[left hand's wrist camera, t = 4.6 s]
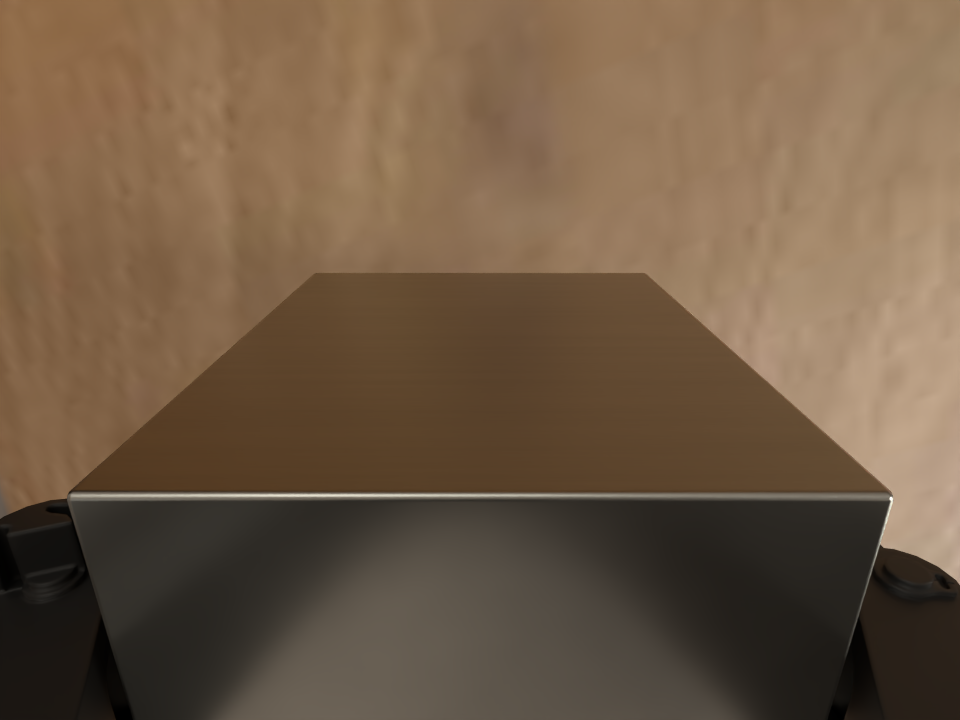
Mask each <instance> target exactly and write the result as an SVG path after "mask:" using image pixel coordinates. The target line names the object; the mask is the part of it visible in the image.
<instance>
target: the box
mask: <svg viewBox="0 0 960 720" xmlns="http://www.w3.org/2000/svg"><path fill="white" fill-rule="evenodd" d="M67 501H68V505H69V508H70V511H71V515H72V518H73V521H74V525H75V528H76V531H77V535H78V538H79V541H80V545H81V548H82V551H83V555H84V558H85V561H86V565H87V568H88V571H89V575H90V578H91V581H92V585H93V588H94V591H95V595H96V598H97V601H98V605H99V608H100V611H101V615H102V618H103V622H104V625H105V628H106V632H107V635H108V638H109V642H110V645H111V648H112V652H113V655H114V658H115V662H116V665H117V668H118V672H119V675H120V678H121V682H122V685H123V688H124V692H125V695H126V698H127V702H128V705H129V708H130V712H131V715H132V718H133V720H827V719H828V716H829V713H830V709H831V706H832V703H833V699H834V696H835V693H836V689H837V686H838V683H839V679H840V676H841V673H842V669H843V666H844V663H845V659H846V656H847V653H848V649H849V646H850V643H851V639H852V636H853V633H854V629H855V626H856V623H857V619H858V616H859V613H860V609H861V606H862V603H863V599H864V596H865V593H866V589H867V586H868V583H869V579H870V576H871V573H872V569H873V566H874V563H875V559H876V556H877V553H878V549H879V546H880V543H881V539H882V536H883V533H884V529H885V526H886V523H887V519H888V516H889V513H890V509H891V506H892V503H893V495H892V493H891V491H890V490H889V489H887V488H886V487H885V486H884V485H883V484H882V483H881V482H880V481H878V480H877V479H876V478H875V477H874V476H873V475H872V474H871V473H869V472H868V471H867V470H866V469H865V468H864V467H863V466H862V465H860V464H859V463H858V462H857V461H856V460H855V459H854V458H853V457H851V456H850V455H849V454H848V453H847V452H846V451H845V450H844V449H842V448H841V447H840V446H839V445H838V444H837V443H836V442H835V441H833V440H832V439H831V438H830V437H829V436H828V435H827V434H826V433H824V432H823V431H822V430H821V429H820V428H819V427H818V426H817V425H815V424H814V423H813V422H812V421H811V420H810V419H809V418H808V417H806V416H805V415H804V414H803V413H802V412H801V411H800V410H799V409H797V408H796V407H795V406H794V405H793V404H792V403H791V402H790V401H788V400H787V399H786V398H785V397H784V396H783V395H782V394H781V393H779V392H778V391H777V390H776V389H775V388H774V387H773V386H772V385H770V384H769V383H768V382H767V381H766V380H765V379H764V378H763V377H761V376H760V375H759V374H758V373H757V372H756V371H755V370H754V369H752V368H751V367H750V366H749V365H748V364H747V363H746V362H745V361H743V360H742V359H741V358H740V357H739V356H738V355H737V354H736V353H734V352H733V351H732V350H731V349H730V348H729V347H728V346H726V345H725V344H724V343H723V342H722V341H721V340H720V339H719V338H717V337H716V336H715V335H714V334H713V333H712V332H711V331H710V330H708V329H707V328H706V327H705V326H704V325H703V324H702V323H701V322H699V321H698V320H697V319H696V318H695V317H694V316H693V315H692V314H690V313H689V312H688V311H687V310H686V309H685V308H684V307H683V306H681V305H680V304H679V303H678V302H677V301H676V300H675V299H674V298H672V297H671V296H670V295H669V294H668V293H667V292H666V291H665V290H663V289H662V288H661V287H660V286H659V285H658V284H657V283H656V282H654V281H653V280H652V279H651V278H650V277H649V276H648V275H647V274H645V273H316V274H314V275H312V276H311V277H310V278H309V279H308V280H307V281H306V282H305V283H303V284H302V285H301V286H300V287H299V288H298V289H297V290H296V291H294V292H293V293H292V294H291V295H290V296H289V297H288V298H287V299H285V300H284V301H283V302H282V303H281V304H280V305H279V306H278V307H276V308H275V309H274V310H273V311H272V312H271V313H270V314H269V315H267V316H266V317H265V318H264V319H263V320H262V321H261V322H260V323H258V324H257V325H256V326H255V327H254V328H253V329H252V330H251V331H249V332H248V333H247V334H246V335H245V336H244V337H243V338H242V339H240V340H239V341H238V342H237V343H236V344H235V345H234V346H233V347H231V348H230V349H229V350H228V351H227V352H226V353H225V354H224V355H222V356H221V357H220V358H219V359H218V360H217V361H216V362H215V363H213V364H212V365H211V366H210V367H209V368H208V369H207V370H206V371H204V372H203V373H202V374H201V375H200V376H199V377H198V378H197V379H195V380H194V381H193V382H192V383H191V384H190V385H189V386H188V387H187V388H185V389H184V390H183V391H182V392H181V393H180V394H179V395H178V396H176V397H175V398H174V399H173V400H172V401H171V402H170V403H169V404H167V405H166V406H165V407H164V408H163V409H162V410H161V411H160V412H158V413H157V414H156V415H155V416H154V417H153V418H152V419H151V420H149V421H148V422H147V423H146V424H145V425H144V426H143V427H142V428H140V429H139V430H138V431H137V432H136V433H135V434H134V435H133V436H131V437H130V438H129V439H128V440H127V441H126V442H125V443H124V444H122V445H121V446H120V447H119V448H118V449H117V450H116V451H115V452H113V453H112V454H111V455H110V456H109V457H108V458H107V459H106V460H104V461H103V462H102V463H101V464H100V465H99V466H98V467H97V468H95V469H94V470H93V471H92V472H91V473H90V474H89V475H88V476H86V477H85V478H84V479H83V480H82V481H81V482H80V483H79V484H77V485H76V486H75V487H74V488H73V489H72V490H71V491H70V492H69V494H68V497H67Z"/></svg>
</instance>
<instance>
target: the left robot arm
mask: <svg viewBox="0 0 960 720" xmlns="http://www.w3.org/2000/svg"><path fill="white" fill-rule="evenodd" d="M0 720H133V718H132V715H131V712H130V708H129V705H128V702H127V698H126V695H125V692H124V688H123V685H122V682H121V678H120V675H119V672H118V668H117V665H116V662H115V658H114V655H113V652H112V648H111V645H110V642H109V638H108V635H107V632H106V628H105V625H104V622H103V618H102V615H101V611H100V608H99V605H98V601H97V598H96V595H95V591H94V588H93V585H92V581H91V578H90V575H89V571H88V568H87V565H86V561H85V558H84V555H83V551H82V548H81V545H80V541H79V538H78V535H77V531H76V528H75V525H74V521H73V518H72V515H71V511H70V508H69V505H68V501H67V499H59V500H50V501H46V502H42V503H39V504H35V505H31V506H28V507H25V508H23V509H20V510H18V511H16V512H13V513H11V514H9V515H6V516H4V517H3V518H1V519H0ZM827 720H960V585H959V584H958V582H957V581H956V580H955V579H954V578H952V577H951V576H950V575H948V574H947V573H946V572H944V571H943V570H942V569H940V568H939V567H937V566H935V565H933V564H931V563H929V562H927V561H925V560H923V559H921V558H919V557H917V556H914V555H911V554H908V553H905V552H901V551H898V550H895V549H887V548H883V547H882V546H881V545H880V546H879V549H878V553H877V556H876V559H875V563H874V566H873V569H872V573H871V576H870V579H869V583H868V586H867V589H866V593H865V596H864V599H863V603H862V606H861V609H860V613H859V616H858V619H857V623H856V626H855V629H854V633H853V636H852V639H851V643H850V646H849V649H848V653H847V656H846V659H845V663H844V666H843V669H842V673H841V676H840V679H839V683H838V686H837V689H836V693H835V696H834V699H833V703H832V706H831V709H830V713H829V716H828V719H827Z"/></svg>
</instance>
